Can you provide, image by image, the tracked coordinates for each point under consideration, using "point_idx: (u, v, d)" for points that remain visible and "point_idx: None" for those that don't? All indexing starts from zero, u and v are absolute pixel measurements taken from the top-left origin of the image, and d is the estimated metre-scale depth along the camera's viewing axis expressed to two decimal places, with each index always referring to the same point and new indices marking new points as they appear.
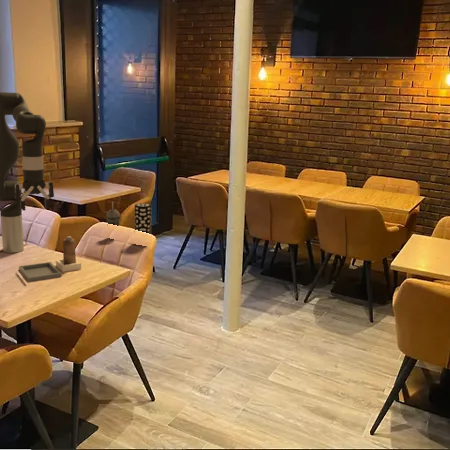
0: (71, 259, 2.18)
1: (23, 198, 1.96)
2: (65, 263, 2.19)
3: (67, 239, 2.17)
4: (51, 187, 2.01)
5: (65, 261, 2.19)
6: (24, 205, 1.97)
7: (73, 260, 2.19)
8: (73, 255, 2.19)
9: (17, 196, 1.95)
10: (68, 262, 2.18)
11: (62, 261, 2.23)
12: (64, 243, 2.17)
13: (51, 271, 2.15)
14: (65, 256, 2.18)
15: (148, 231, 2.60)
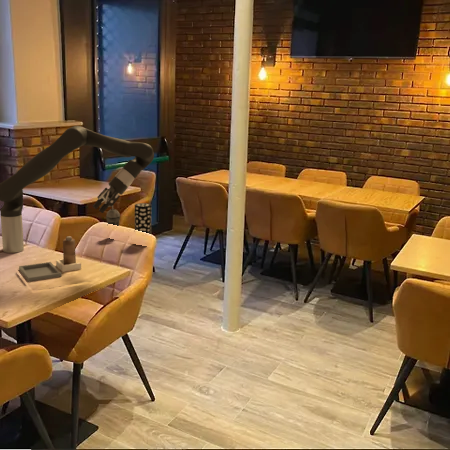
0: (71, 259, 2.18)
1: None
2: (65, 263, 2.19)
3: (67, 239, 2.17)
4: None
5: (65, 261, 2.19)
6: (105, 209, 2.19)
7: (73, 260, 2.19)
8: (73, 255, 2.19)
9: None
10: (68, 262, 2.18)
11: (62, 261, 2.23)
12: (64, 243, 2.17)
13: (51, 271, 2.15)
14: (65, 256, 2.18)
15: (148, 231, 2.60)
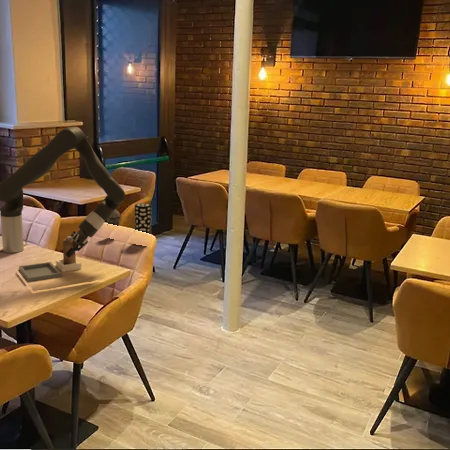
0: (71, 259, 2.18)
1: None
2: (65, 263, 2.19)
3: (67, 239, 2.17)
4: None
5: (65, 261, 2.19)
6: (72, 253, 2.18)
7: (73, 260, 2.19)
8: (73, 255, 2.19)
9: None
10: (68, 262, 2.18)
11: (62, 261, 2.23)
12: (64, 243, 2.17)
13: (51, 271, 2.15)
14: (65, 256, 2.18)
15: (148, 231, 2.60)
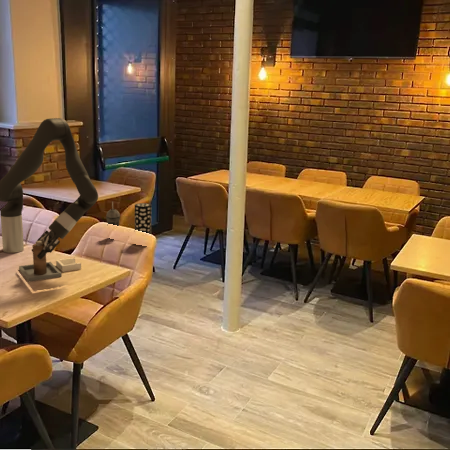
0: (41, 264, 2.10)
1: None
2: (35, 269, 2.10)
3: (37, 244, 2.09)
4: None
5: (35, 267, 2.10)
6: (44, 255, 2.08)
7: (43, 266, 2.11)
8: (43, 261, 2.10)
9: None
10: (38, 268, 2.10)
11: (62, 261, 2.23)
12: (34, 248, 2.08)
13: (51, 271, 2.15)
14: (35, 262, 2.09)
15: (148, 231, 2.60)
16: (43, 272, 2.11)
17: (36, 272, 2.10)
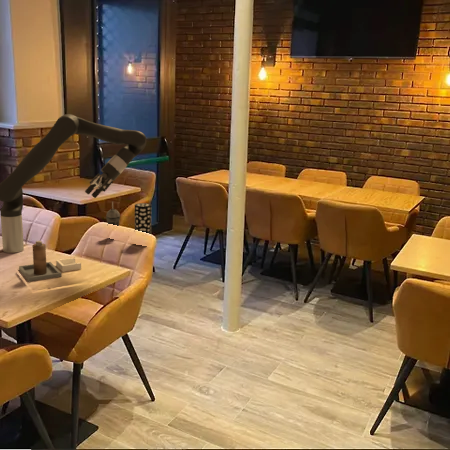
0: (41, 264, 2.10)
1: None
2: (35, 269, 2.10)
3: (37, 244, 2.09)
4: None
5: (35, 267, 2.10)
6: (98, 194, 2.23)
7: (43, 266, 2.11)
8: (43, 261, 2.10)
9: None
10: (38, 268, 2.10)
11: (62, 261, 2.23)
12: (34, 248, 2.08)
13: (51, 271, 2.15)
14: (35, 262, 2.09)
15: (148, 231, 2.60)
16: (43, 272, 2.11)
17: (36, 272, 2.10)
